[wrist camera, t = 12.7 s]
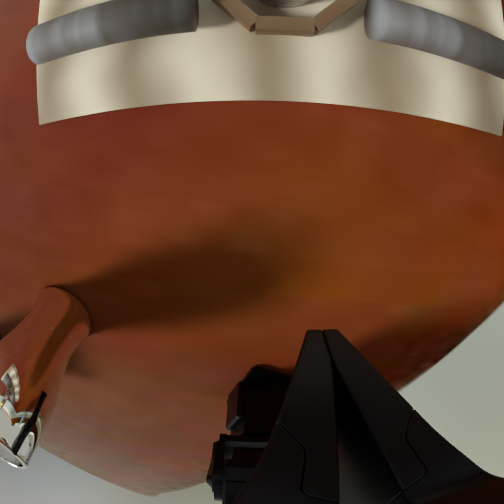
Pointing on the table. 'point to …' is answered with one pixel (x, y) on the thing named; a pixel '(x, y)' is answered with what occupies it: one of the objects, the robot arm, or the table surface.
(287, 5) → the metal cup
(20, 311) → the table surface
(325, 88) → the shaft board
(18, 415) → the beer glass
